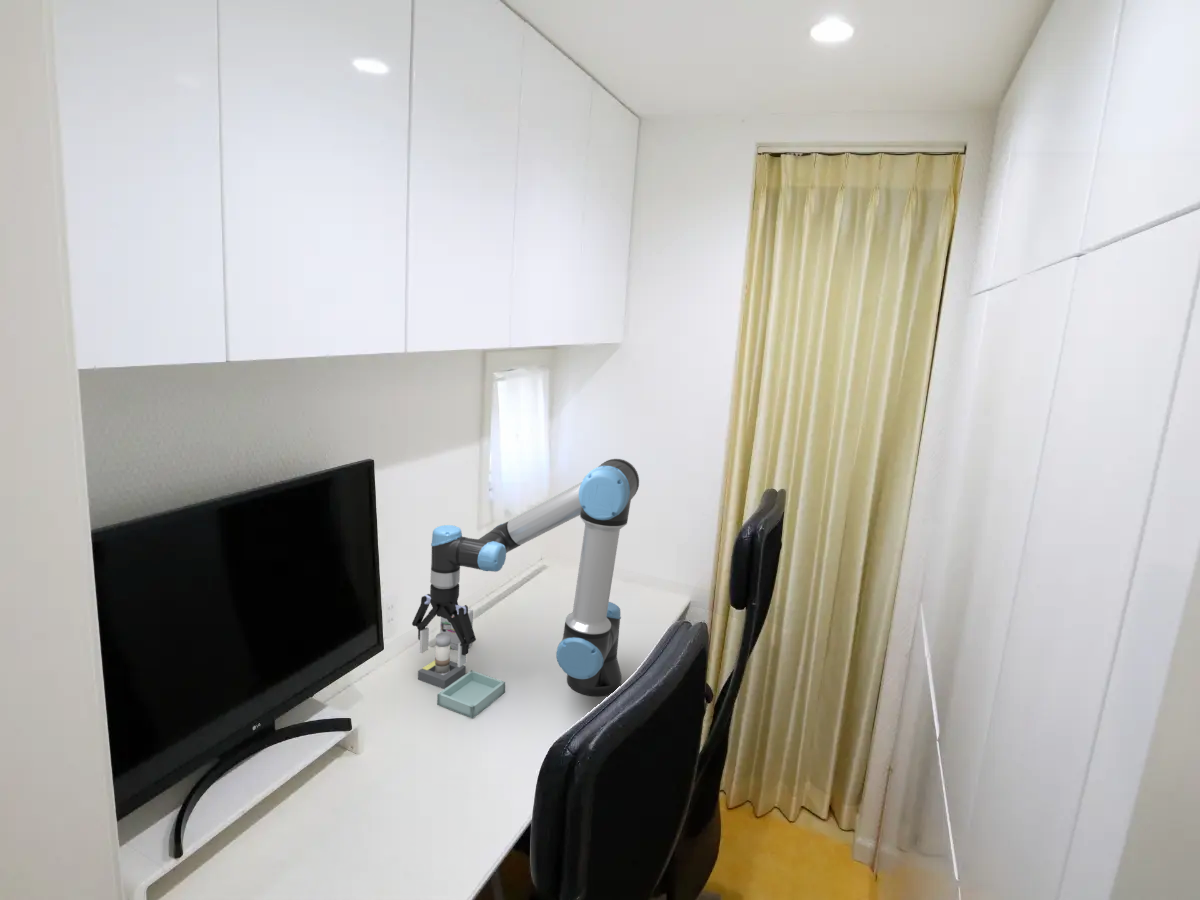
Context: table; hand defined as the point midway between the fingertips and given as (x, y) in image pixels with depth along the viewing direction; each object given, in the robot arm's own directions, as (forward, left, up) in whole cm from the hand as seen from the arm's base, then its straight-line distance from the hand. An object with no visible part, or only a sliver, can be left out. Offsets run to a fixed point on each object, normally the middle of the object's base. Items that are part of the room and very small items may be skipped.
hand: (442, 658), depth 180 cm
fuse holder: (0, 0, -6) cm, 6 cm away
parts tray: (-13, +4, -6) cm, 15 cm away
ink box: (+8, -16, -6) cm, 19 cm away
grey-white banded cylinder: (0, 0, -6) cm, 6 cm away
